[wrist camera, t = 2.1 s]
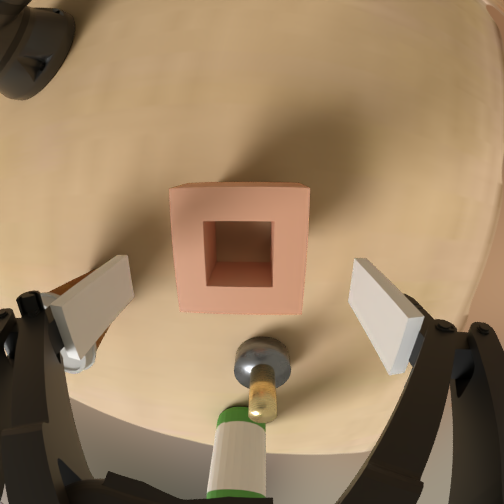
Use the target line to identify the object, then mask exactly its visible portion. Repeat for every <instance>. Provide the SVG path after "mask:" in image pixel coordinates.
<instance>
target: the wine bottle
mask: <svg viewBox="0 0 504 504" xmlns="http://www.w3.org/2000/svg"><path fill="white" fill-rule="evenodd" d="M248 411H249V408H248V407H232V408H228V409H226V410H225V411H223V412H222V413H221V414H220V416H219V418H218V421H217V428H216V433H215V440H214V447H213V454H212V461H211V468H210V475H209V482H208V489H207V497H206V499H209V498H219V497H228V496H230V497H249V498H266V433H265V423H257V422H254V421H252V420H251V419H250V418H249V417H248Z"/></svg>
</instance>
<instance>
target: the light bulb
mask: <svg viewBox="0 0 504 504" xmlns="http://www.w3.org/2000/svg"><path fill="white" fill-rule="evenodd" d="M290 373H291V368H290V360H289V353H288V350H287V348H286V346H285V345H284V344H283V343H281V342H280V341H278V340H276V339H274V338H270V337H255V338H252V339H249V340H247V341H245V342H244V343H243V344H241V345H240V347H239V348H238V350H237V352H236V359H235V367H234V374H235V377H236V379H237V380H238V382H239V383H240V384H242V385H243V386H245V387H247V388H249V389H250V390H249V411H248V417H249V418H250V419H251V420H252V421H254V422H257V423H268V422H271V421H273V420H274V419H275V418H276V417H277V405H276V388H278V387H280V386H281V385H283V384H284V383H285V382H286V381H287V380H288V378H289V376H290Z"/></svg>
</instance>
